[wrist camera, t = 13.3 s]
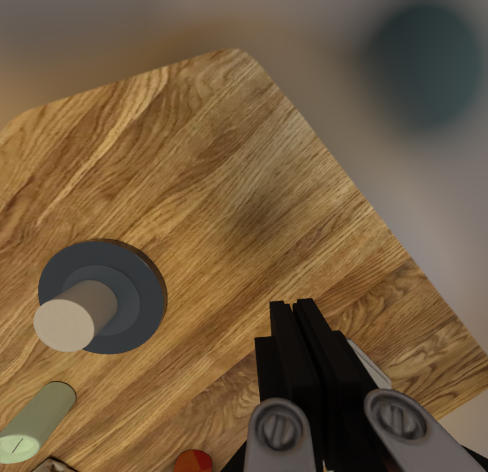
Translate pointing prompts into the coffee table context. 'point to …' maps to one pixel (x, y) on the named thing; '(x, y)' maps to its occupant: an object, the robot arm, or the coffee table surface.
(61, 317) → the short beige cylinder
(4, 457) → the candle
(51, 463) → the basket
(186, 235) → the coffee table surface
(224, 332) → the coffee table surface
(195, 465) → the coffee cup
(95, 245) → the plate
